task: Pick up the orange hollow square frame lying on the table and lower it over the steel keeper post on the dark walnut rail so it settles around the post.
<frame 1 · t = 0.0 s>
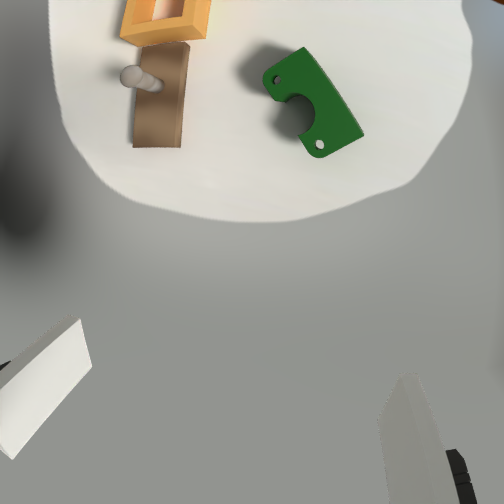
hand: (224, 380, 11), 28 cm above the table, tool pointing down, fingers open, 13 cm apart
keeper rail: (163, 95, 34), on the table
orange hollow square frame: (175, 12, 30), on the table
clamp: (313, 108, 32), on the table
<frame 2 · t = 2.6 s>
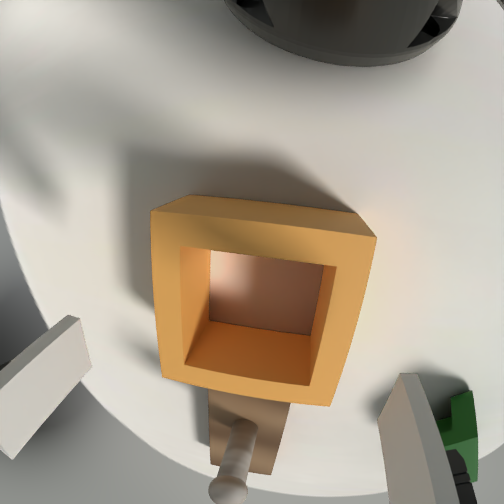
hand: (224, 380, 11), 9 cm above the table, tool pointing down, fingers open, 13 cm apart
keeper rail: (249, 416, 23), on the table
orange hollow square frame: (263, 282, 19), on the table
clamp: (441, 427, 21), on the table
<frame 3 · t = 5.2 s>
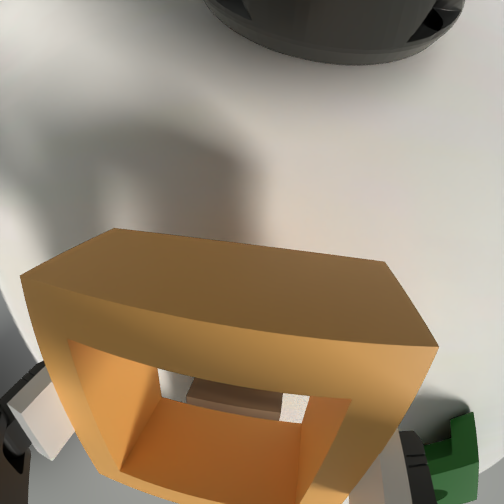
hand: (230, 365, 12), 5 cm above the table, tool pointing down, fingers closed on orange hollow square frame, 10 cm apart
keeper rail: (233, 442, 21), on the table
orange hollow square frame: (232, 359, 12), point 5 cm above the table, touching gripper
clamp: (440, 447, 19), on the table
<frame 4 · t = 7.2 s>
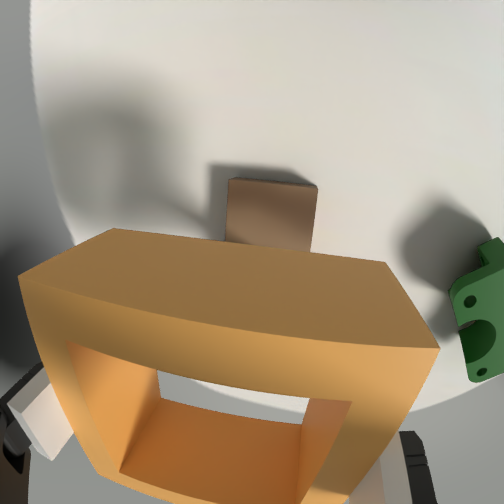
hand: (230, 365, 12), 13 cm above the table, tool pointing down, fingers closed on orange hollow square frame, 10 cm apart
keeper rail: (266, 270, 24), on the table
orange hollow square frame: (231, 360, 12), point 13 cm above the table, touching gripper
clamp: (473, 299, 22), on the table
when the fingers open (2 cm above the table, at t = 9.5 s): orange hollow square frame stays where it is, resting on keeper rail.
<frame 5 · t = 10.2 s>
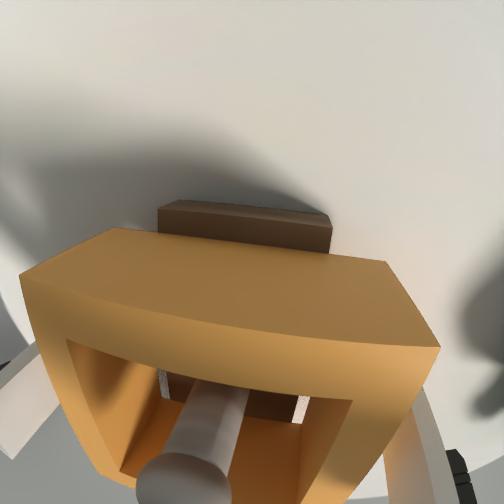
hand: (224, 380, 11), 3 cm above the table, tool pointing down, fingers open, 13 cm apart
keeper rail: (239, 352, 14), on the table
orange hollow square frame: (232, 360, 12), point 2 cm above the table, touching keeper rail
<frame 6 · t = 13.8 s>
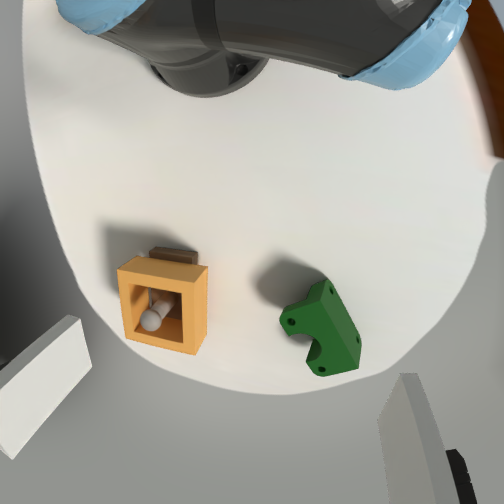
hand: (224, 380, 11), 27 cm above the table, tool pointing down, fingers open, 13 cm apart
keeper rail: (177, 296, 41), on the table
orange hollow square frame: (171, 296, 39), point 2 cm above the table, touching keeper rail
clamp: (322, 318, 39), on the table
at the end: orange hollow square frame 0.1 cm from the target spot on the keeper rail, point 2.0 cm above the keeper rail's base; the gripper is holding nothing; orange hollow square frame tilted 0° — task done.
